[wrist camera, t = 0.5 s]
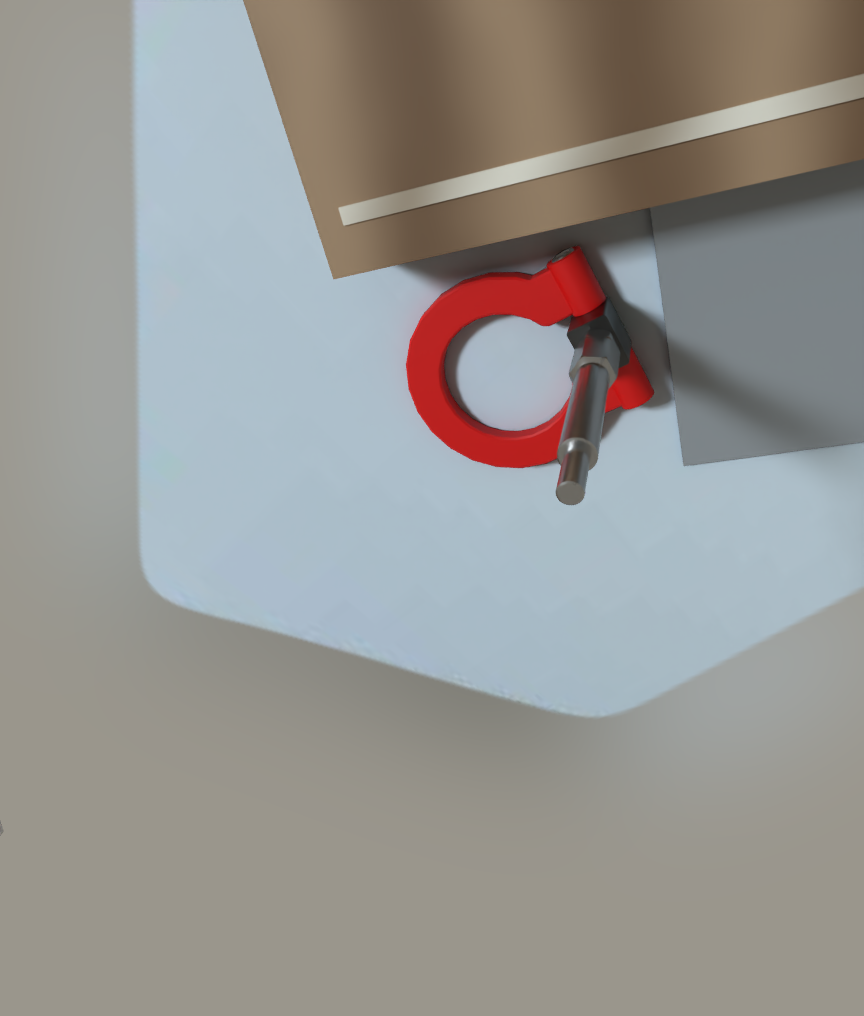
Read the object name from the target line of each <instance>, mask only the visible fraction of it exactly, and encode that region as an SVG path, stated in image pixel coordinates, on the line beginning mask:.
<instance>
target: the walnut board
mask: <svg viewBox="0 0 864 1016" xmlns="http://www.w3.org/2000/svg"><path fill="white" fill-rule="evenodd" d="M243 1H244V4H245V7H246V10H247V14H248V17H249V20H250V23H251V26H252V29H253V32H254V35H255V38H256V41H257V44H258V47H259V51H260V54H261V57H262V60H263V63H264V66H265V69H266V72H267V75H268V78H269V81H270V85H271V88H272V91H273V94H274V97H275V100H276V103H277V106H278V109H279V112H280V115H281V118H282V122H283V125H284V128H285V131H286V134H287V137H288V140H289V143H290V146H291V149H292V152H293V156H294V159H295V162H296V165H297V168H298V171H299V174H300V177H301V180H302V183H303V186H304V189H305V193H306V196H307V199H308V202H309V205H310V208H311V211H312V214H313V217H314V220H315V223H316V227H317V230H318V233H319V236H320V239H321V242H322V245H323V248H324V251H325V254H326V257H327V260H328V264H329V267H330V270H331V273H332V276H333V279H337V278H342V277H346V276H350V275H355V274H359V273H364V272H368V271H372V270H377V269H381V268H386V267H390V266H395V265H399V264H403V263H408V262H412V261H417V260H421V259H425V258H430V257H434V256H439V255H443V254H447V253H452V252H456V251H461V250H465V249H470V248H474V247H478V246H483V245H487V244H492V243H496V242H500V241H505V240H509V239H514V238H518V237H522V236H527V235H531V234H536V233H540V232H545V231H549V230H553V229H558V228H562V227H567V226H571V225H575V224H580V223H584V222H589V221H593V220H597V219H602V218H606V217H611V216H615V215H620V214H624V213H628V212H633V211H637V210H642V209H646V208H650V207H655V206H659V205H664V204H668V203H672V202H677V201H681V200H686V199H690V198H695V197H699V196H703V195H708V194H712V193H717V192H721V191H725V190H730V189H734V188H739V187H743V186H748V185H752V184H756V183H761V182H765V181H770V180H774V179H778V178H783V177H787V176H792V175H796V174H800V173H805V172H809V171H814V170H818V169H823V168H827V167H831V166H836V165H840V164H845V163H849V162H853V161H858V160H862V159H864V0H243Z"/></svg>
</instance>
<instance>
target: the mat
mask: <svg viewBox="0 0 864 1016" xmlns="http://www.w3.org/2000/svg"><path fill="white" fill-rule="evenodd" d="M650 213H651V220H652V228H653V236H654V243H655V251H656V259H657V266H658V274H659V281H660V289H661V297H662V304H663V312H664V320H665V327H666V335H667V342H668V350H669V358H670V365H671V373H672V381H673V388H674V396H675V403H676V411H677V419H678V426H679V434H680V442H681V449H682V457H683V465H684V466H687V465H695V464H702V463H710V462H717V461H725V460H732V459H740V458H747V457H755V456H762V455H770V454H777V453H785V452H793V451H800V450H808V449H815V448H823V447H830V446H838V445H845V444H853V443H860V442H864V159H862V160H858V161H853V162H849V163H845V164H840V165H836V166H831V167H827V168H823V169H818V170H814V171H809V172H805V173H800V174H796V175H792V176H787V177H783V178H778V179H774V180H770V181H765V182H761V183H756V184H752V185H748V186H743V187H739V188H734V189H730V190H725V191H721V192H717V193H712V194H708V195H703V196H699V197H695V198H690V199H686V200H681V201H677V202H672V203H668V204H664V205H659V206H655V207H650Z"/></svg>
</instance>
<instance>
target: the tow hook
mask: <svg viewBox="0 0 864 1016" xmlns="http://www.w3.org/2000/svg"><path fill="white" fill-rule="evenodd" d="M491 315H515V316H519V317H523V318H527V319H530V320H532V321H534V322H536V323H538V324H539V325H541V326H551V325H553V324H555V323H557V322H559V321H561V320H563V319H565V318H567V317H569V316H571V315H572V318H571V322H570V325H569V329H568V332H567V337H568V338H569V340H570V342H571V344H572V346H573V348H574V349H575V351H574V355H573V358H572V362H571V366H570V370H569V377H570V379H571V381H572V383H573V386H572V390H571V393H570V397H569V398H568V400H567V402H566V403H565V405H564V406H563V408H562V409H561V411H559V412H558V413H557V414H556V415H555V416H554V417H553V418H551V419H550V420H549V421H547V422H545V423H543V424H541V425H539V426H537V427H535V428H531V429H527V430H522V431H502V430H498V429H494V428H491V427H487V426H485V425H483V424H481V423H479V422H478V421H476V420H474V419H472V418H471V417H470V416H469V415H468V414H466V413H465V412H464V411H463V410H462V409H461V408H460V407H459V406H458V404H457V403H456V401H455V400H454V398H453V397H452V395H451V394H450V391H449V388H448V385H447V383H446V380H445V369H444V361H445V356H446V351H447V348H448V346H449V344H450V342H451V340H452V338H453V337H454V336H455V335H456V334H457V333H458V332H459V331H460V330H461V329H462V328H463V327H465V326H466V325H468V324H470V323H471V322H473V321H475V320H477V319H480V318H483V317H487V316H491ZM406 369H407V378H408V387H409V391H410V393H411V396H412V399H413V401H414V404H415V406H416V409H417V412H418V413H419V414H420V416H421V417H422V419H423V420H424V422H425V423H426V424H427V426H428V427H429V429H430V430H431V431H432V432H433V433H434V434H435V435H436V436H437V437H438V438H439V439H441V440H442V441H443V442H444V443H445V444H446V445H447V446H448V447H450V448H451V449H453V450H455V451H456V452H458V453H460V454H462V455H464V456H466V457H468V458H469V459H471V460H474V461H477V462H481V463H484V464H488V465H492V466H495V467H509V468H525V467H530V466H536V465H541V464H546V463H548V462H551V461H553V460H555V459H558V462H559V464H560V465H561V470H560V474H559V479H558V483H557V488H556V496H557V498H558V500H559V501H560V502H562V503H564V504H566V505H576V504H578V503H580V502H581V501H582V500H583V498H584V494H585V488H586V482H587V476H588V471H589V470H591V469H592V468H593V467H594V466H595V464H596V463H597V459H598V454H599V447H600V441H601V434H602V427H603V421H604V414H605V413H606V412H609V411H611V410H613V409H616V408H618V407H621V406H622V408H623V409H632V408H635V407H638V406H640V405H642V404H644V403H645V402H647V401H648V400H649V399H650V398H651V397H652V396H653V395H654V390H653V388H652V386H651V384H650V382H649V380H648V378H647V376H646V374H645V372H644V371H643V369H642V367H641V365H640V363H639V361H638V359H637V357H636V355H635V353H634V351H633V349H632V347H631V340H630V338H629V336H628V334H627V332H626V330H625V328H624V326H623V324H622V322H621V320H620V318H619V316H618V314H617V312H616V310H615V308H614V306H613V304H612V302H611V300H610V299H609V298H608V297H606V296H605V295H604V293H603V291H602V289H601V287H600V285H599V283H598V281H597V279H596V277H595V275H594V273H593V271H592V269H591V267H590V265H589V263H588V261H587V260H586V258H585V256H584V254H583V252H582V250H581V248H580V246H574V247H571V248H568V249H566V250H564V251H562V252H560V253H559V254H557V255H556V256H555V257H554V258H552V259H551V260H550V261H549V262H548V263H547V268H545V269H543V270H542V271H540V272H538V273H536V274H534V275H528V274H524V273H520V272H492V273H487V274H483V275H480V276H476V277H473V278H469V279H466V280H463V281H462V282H460V283H458V284H457V285H455V286H454V287H452V288H450V289H449V290H447V291H446V292H444V293H442V294H441V295H440V296H439V297H438V298H437V300H436V301H435V302H434V303H433V304H432V305H431V306H430V307H429V308H428V310H427V311H426V312H425V313H424V314H423V316H422V317H421V319H420V321H419V323H418V325H417V327H416V329H415V331H414V333H413V335H412V337H411V340H410V344H409V350H408V356H407V362H406Z"/></svg>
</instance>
